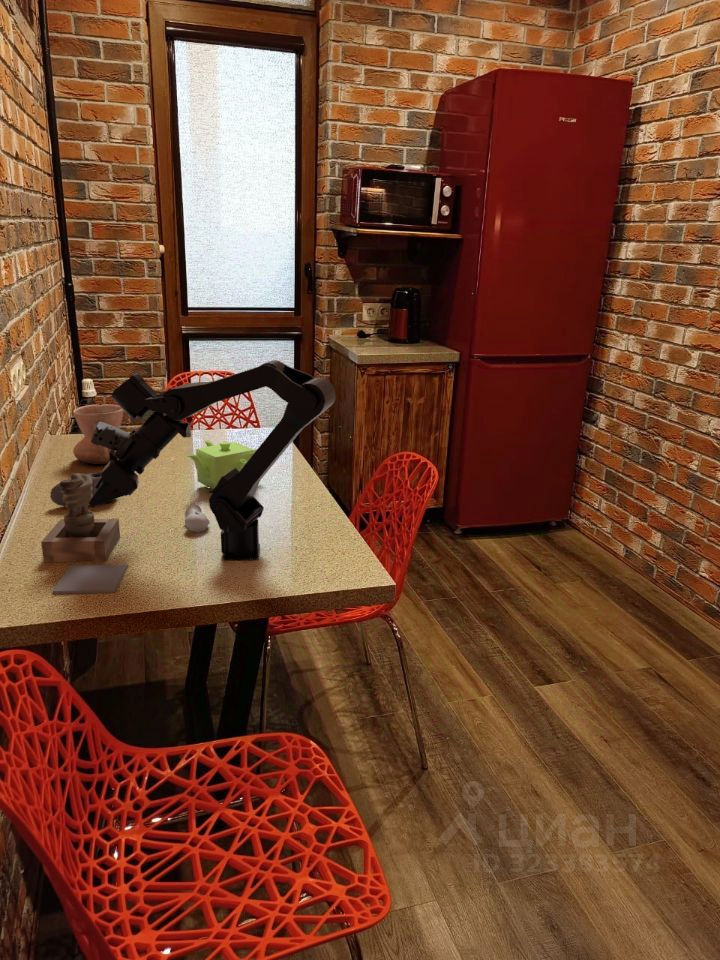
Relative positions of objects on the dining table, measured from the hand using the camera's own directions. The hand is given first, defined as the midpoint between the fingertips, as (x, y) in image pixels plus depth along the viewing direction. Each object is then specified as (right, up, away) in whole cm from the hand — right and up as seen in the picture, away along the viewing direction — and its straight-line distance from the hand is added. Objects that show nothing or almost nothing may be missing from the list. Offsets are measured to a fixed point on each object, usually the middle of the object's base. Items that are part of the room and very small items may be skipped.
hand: (93, 496), depth 129 cm
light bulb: (-3, -10, +3) cm, 11 cm away
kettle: (+17, +1, +39) cm, 42 cm away
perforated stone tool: (-11, -2, +26) cm, 28 cm away
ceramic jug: (-19, +8, +56) cm, 60 cm away
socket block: (-3, -10, +3) cm, 11 cm away
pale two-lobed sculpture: (+16, -7, +15) cm, 23 cm away
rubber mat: (+3, -14, -9) cm, 17 cm away
